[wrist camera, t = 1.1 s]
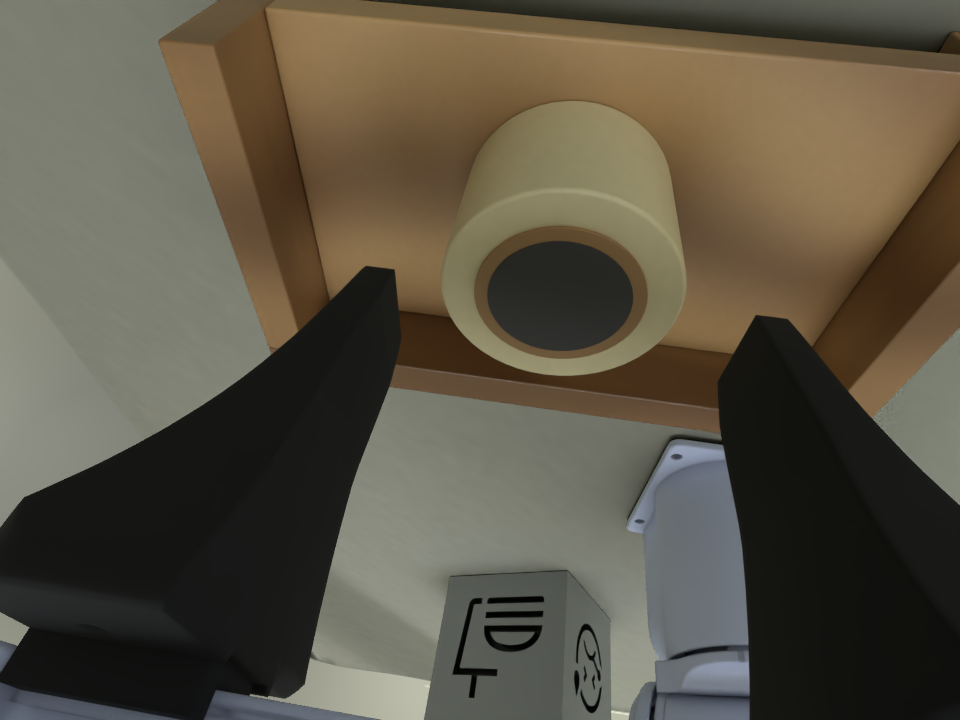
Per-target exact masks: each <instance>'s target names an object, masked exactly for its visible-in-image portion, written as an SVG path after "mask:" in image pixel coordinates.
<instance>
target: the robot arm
mask: <svg viewBox="0 0 960 720" xmlns="http://www.w3.org/2000/svg"><path fill="white" fill-rule="evenodd" d="M401 339H402V338H401V328H400V318H399V307H398V297H397V286H396V276H395V269H388V268H380V267H372V266H365V267H364V268H362V269H361V270H360V271H359V272H358V273H357V274H356V275H355V276H354V277H353V278H352V279H351V280H350V281H349V282H348V283H347V284H346V285H345V286H344V287H343V288H342V290H341V291H340V292H339V293H338V294H337V295H336V296H335V297H334V298H333V299H332V300H331V301H330V302H329V303H328V304H327V305H326V306H325V307H324V308H323V309H321V310H320V311H319V312H318V313H317V314H316V315H315V316H314V317H313V318H312V319H311V320H310V321H309V322H308V323H307V324H306V325H305V326H303V327H302V328H301V329H300V330H299V331H298V332H297V333H296V334H295V335H294V336H293V337H291V338H290V339H289V340H288V341H287V342H286V343H284V344H283V345H282V346H281V347H280V348H279V349H277V350H276V351H275V352H274V353H273V354H271V355H270V356H269V357H268V358H267V359H266V360H264V361H263V362H262V363H261V364H259V365H258V366H257V367H256V368H254V369H253V370H252V371H250V372H249V373H248V374H246V375H245V376H244V377H243V378H241V379H240V380H238V381H237V382H236V383H234V384H233V385H232V386H230V387H229V388H227V389H226V390H225V391H223V392H222V393H220V394H219V395H217V396H216V397H214V398H213V399H211V400H210V401H208V402H207V403H205V404H204V405H202V406H200V407H199V408H197V409H196V410H194V411H192V412H191V413H189V414H188V415H186V416H184V417H183V418H181V419H179V420H178V421H176V422H175V423H173V424H171V425H170V426H168V427H166V428H165V429H163V430H161V431H159V432H158V433H156V434H154V435H152V436H150V437H149V438H147V439H145V440H143V441H141V442H140V443H138V444H136V445H134V446H132V447H130V448H128V449H126V450H124V451H122V452H121V453H118V454H117V455H115V456H113V457H111V458H109V459H107V460H105V461H103V462H101V463H99V464H97V465H95V466H93V467H90V468H88V469H86V470H84V471H82V472H80V473H77V474H75V475H73V476H71V477H68V478H66V479H64V480H62V481H60V482H58V483H55V484H53V485H51V486H49V487H47V488H44V489H42V490H40V491H38V492H35V493H33V494H31V495H29V496H26V497H24V498H23V499H22V501H21V502H20V503H19V504H18V505H17V507H16V508H15V509H14V510H13V512H12V513H11V515H10V516H9V517H8V518H7V519H6V521H5V522H4V523H3V525H2V526H1V527H0V612H1V613H3V614H5V615H7V616H9V617H11V618H13V619H15V620H16V621H18V622H20V623H22V624H24V625H26V626H28V627H30V628H29V629H28V631H27V633H26V634H25V636H24V637H23V639H22V640H21V642H20V643H19V645H18V646H16V645H13V644H10V643H7V642H3V641H0V720H379V719H373V718H367V717H363V716H357V715H352V714H346V713H341V712H335V711H329V710H324V709H318V708H313V707H307V706H302V705H296V704H291V703H285V702H280V701H274V700H268V699H263V698H258V697H252V696H250V694H254V695H259V696H265V697H268V696H273V697H278V698H287V697H289V696H291V695H292V694H293V693H295V692H296V691H298V690H299V689H300V688H301V687H302V686H303V685H304V684H305V679H306V674H307V669H308V664H309V660H310V655H311V650H312V646H313V641H314V636H315V632H316V627H317V622H318V618H319V613H320V609H321V605H322V601H323V596H324V592H325V588H326V583H327V579H328V575H329V571H330V567H331V563H332V559H333V555H334V551H335V547H336V543H337V539H338V535H339V531H340V527H341V524H342V520H343V516H344V513H345V509H346V505H347V502H348V498H349V494H350V490H351V487H352V484H353V481H354V478H355V475H356V472H357V469H358V466H359V464H360V461H361V459H362V456H363V453H364V451H365V448H366V446H367V443H368V441H369V438H370V435H371V433H372V430H373V428H374V425H375V422H376V420H377V417H378V415H379V412H380V410H381V407H382V404H383V402H384V399H385V396H386V394H387V391H388V388H389V386H390V383H391V380H392V376H393V372H394V368H395V365H396V361H397V356H398V352H399V348H400V344H401ZM718 409H719V425H720V432H721V437H722V443H723V445H719V444H712V443H705V442H698V441H691V440H684V439H676V440H673V441H671V442H670V443H669V444H668V446H667V448H666V449H665V451H664V453H663V455H662V457H661V459H660V461H659V463H658V465H657V466H656V468H655V470H654V472H653V474H652V476H651V478H650V480H649V481H648V483H647V485H646V487H645V489H644V491H643V493H642V495H641V496H640V498H639V500H638V502H637V504H636V506H635V508H634V510H633V512H632V513H631V515H630V517H629V519H628V521H627V529H628V530H629V531H631V532H636V533H642V534H643V536H644V554H645V573H646V592H647V610H648V627H649V633H650V638H651V642H652V645H653V647H654V650H655V652H656V654H657V656H658V658H659V659H660V661H655V673H656V682H652V681H650V682H647V683H645V685H644V686H643V687H642V688H641V690H640V693H639V695H638V696H637V697H636V699H635V700H634V702H633V704H632V707H631V711H630V715H629V720H960V505H959V504H958V503H956V502H955V501H954V500H953V499H952V498H951V497H950V496H949V495H948V494H947V493H946V492H945V491H943V490H942V489H941V488H940V487H939V486H938V485H937V484H936V483H935V482H934V481H933V480H932V479H930V478H929V477H928V476H927V475H926V474H925V473H924V472H923V471H922V470H921V469H920V468H919V467H918V466H917V465H916V464H915V463H914V462H913V461H912V460H911V459H910V458H909V457H908V456H907V455H906V454H905V453H904V452H903V451H902V450H901V449H900V448H899V447H898V446H897V445H896V444H895V443H894V442H893V441H892V439H891V438H890V437H889V436H888V435H887V434H886V433H885V432H884V431H883V430H882V429H881V428H880V427H879V426H878V425H877V423H876V422H875V421H874V420H873V419H872V418H871V417H870V416H869V415H868V413H867V412H866V411H865V410H864V409H863V408H862V407H861V406H860V404H859V403H858V402H857V401H856V400H855V399H854V397H853V396H852V395H851V394H850V393H849V392H848V390H847V389H846V388H845V387H844V386H843V384H842V383H841V382H840V381H839V380H838V378H837V377H836V376H835V375H834V374H833V372H832V371H831V370H830V369H829V368H828V366H827V365H826V364H825V363H824V361H823V360H822V359H821V358H820V357H819V355H818V354H817V353H816V352H815V350H814V349H813V348H812V347H811V346H810V344H809V343H808V342H807V341H806V339H805V338H804V337H803V336H802V335H801V333H800V332H799V331H798V330H797V329H796V327H795V326H794V325H793V324H792V323H791V322H790V321H789V320H788V319H785V318H777V317H769V316H761V315H755V317H754V319H753V321H752V322H751V324H750V326H749V327H748V329H747V331H746V333H745V334H744V336H743V338H742V340H741V341H740V343H739V345H738V347H737V348H736V350H735V352H734V354H733V355H732V357H731V359H730V361H729V362H728V364H727V366H726V368H725V369H724V371H723V373H722V375H721V376H720V378H719V380H718Z"/></svg>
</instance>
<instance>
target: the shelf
mask: <svg viewBox="0 0 960 720" xmlns="http://www.w3.org/2000/svg"><path fill="white" fill-rule="evenodd" d="M158 42H159V46H160V49H161V51H162V54H163V57H164V60H165V62H166V65H167V68H168V71H169V73H170V76H171V79H172V82H173V84H174V87H175V90H176V93H177V95H178V98H179V101H180V104H181V106H182V109H183V112H184V115H185V117H186V120H187V123H188V126H189V128H190V131H191V134H192V137H193V139H194V142H195V145H196V148H197V150H198V153H199V156H200V159H201V161H202V164H203V167H204V170H205V172H206V175H207V178H208V181H209V183H210V186H211V189H212V192H213V194H214V197H215V200H216V203H217V205H218V208H219V211H220V214H221V217H222V219H223V222H224V225H225V228H226V230H227V233H228V236H229V239H230V241H231V244H232V247H233V250H234V252H235V255H236V258H237V261H238V263H239V266H240V269H241V272H242V274H243V277H244V280H245V283H246V285H247V288H248V291H249V294H250V296H251V299H252V302H253V305H254V307H255V310H256V313H257V316H258V318H259V321H260V324H261V327H262V329H263V332H264V335H265V338H266V340H267V343H268V346H269V349H270V351H271V354H273V353H274V352H275V351H276V350H277V349H279V348H280V347H281V346H282V345H283V344H284V343H286V342H287V341H288V340H289V339H290V338H291V337H293V336H294V335H295V334H296V333H297V332H298V331H299V330H300V329H301V328H302V327H303V326H305V325H306V324H307V323H308V322H309V321H310V320H311V319H312V318H313V317H314V316H315V315H316V314H317V313H318V312H319V311H320V310H321V309H323V308H324V307H325V306H326V305H327V304H328V303H329V302H330V301H331V300H332V299H333V298H334V297H335V296H336V295H337V294H338V293H339V292H340V291H341V290H342V288H343V287H344V286H345V285H346V284H347V283H348V282H349V281H350V280H351V279H352V278H353V277H354V276H355V275H356V274H357V273H358V272H359V271H360V270H361V269H362V268H364V267H365V266H372V267H380V268H388V269H395V276H396V286H397V297H398V307H399V318H400V328H401V338H402V339H401V344H400V348H399V352H398V356H397V361H396V365H395V368H394V372H393V376H392V380H391V383H390V386H389V387H394V388H401V389H409V390H416V391H423V392H430V393H437V394H444V395H451V396H459V397H466V398H473V399H480V400H487V401H494V402H501V403H509V404H516V405H523V406H530V407H537V408H544V409H551V410H558V411H566V412H573V413H580V414H587V415H594V416H601V417H608V418H616V419H623V420H630V421H637V422H644V423H651V424H658V425H666V426H673V427H680V428H687V429H694V430H701V431H708V432H715V433H721V432H720V425H719V409H718V380H719V378H720V376H721V375H722V373H723V371H724V369H725V368H726V366H727V364H728V362H729V361H730V359H731V357H732V355H733V354H734V352H735V350H736V348H737V347H738V345H739V343H740V341H741V340H742V338H743V336H744V334H745V333H746V331H747V329H748V327H749V326H750V324H751V322H752V321H753V319H754V317H755V315H761V316H769V317H777V318H785V319H788V320H789V321H790V322H791V323H792V324H793V325H794V326H795V327H796V329H797V330H798V331H799V332H800V333H801V335H802V336H803V337H804V338H805V339H806V341H807V342H808V343H809V344H810V346H811V347H812V348H813V349H814V350H815V352H816V353H817V354H818V355H819V357H820V358H821V359H822V360H823V361H824V363H825V364H826V365H827V366H828V368H829V369H830V370H831V371H832V372H833V374H834V375H835V376H836V377H837V378H838V380H839V381H840V382H841V383H842V384H843V386H844V387H845V388H846V389H847V390H848V392H849V393H850V394H851V395H852V396H853V397H854V399H855V400H856V401H857V402H858V403H859V404H860V406H861V407H862V408H863V409H864V410H865V411H866V412H867V413H868V415H869V416H870V417H871V418H872V417H873V416H874V415H875V414H876V413H877V412H878V411H879V410H880V409H881V408H882V407H883V406H884V405H885V404H886V403H887V402H888V401H889V400H890V399H891V397H892V396H893V395H894V394H895V393H896V392H897V391H898V390H899V389H900V388H901V387H902V386H903V385H904V384H905V383H906V382H907V381H908V380H909V379H910V378H911V377H912V376H913V375H914V374H915V373H916V372H917V371H918V370H919V369H920V368H921V367H922V366H923V364H924V363H925V362H926V361H927V360H928V359H929V358H930V357H931V356H932V355H933V354H934V353H935V352H936V351H937V350H938V349H939V348H940V347H941V346H942V345H943V344H944V343H945V342H946V341H947V340H948V339H949V338H950V337H951V336H952V335H953V334H954V332H955V331H956V330H957V329H958V328H959V327H960V33H959V32H952V33H951V34H950V35H949V37H948V38H947V40H946V42H945V43H944V45H943V46H942V48H941V50H940V51H939V53H933V52H922V51H911V50H900V49H889V48H878V47H867V46H856V45H846V44H835V43H824V42H813V41H802V40H791V39H780V38H769V37H758V36H747V35H736V34H725V33H714V32H703V31H692V30H681V29H670V28H659V27H648V26H637V25H626V24H615V23H604V22H593V21H582V20H571V19H560V18H549V17H538V16H528V15H517V14H506V13H495V12H484V11H473V10H462V9H451V8H440V7H429V6H418V5H407V4H396V3H385V2H374V1H363V0H218V1H217V2H215V3H214V4H212V5H211V6H209V7H208V8H206V9H205V10H203V11H202V12H200V13H199V14H197V15H196V16H194V17H193V18H191V19H190V20H188V21H186V22H185V23H183V24H182V25H180V26H179V27H177V28H176V29H174V30H173V31H171V32H170V33H168V34H167V35H165V36H164V37H162V38H161V39H159V41H158ZM561 101H586V102H592V103H597V104H601V105H604V106H608V107H611V108H614V109H616V110H618V111H620V112H622V113H624V114H626V115H628V116H629V117H631V118H632V119H634V120H635V121H637V122H638V123H639V124H641V125H642V126H643V127H644V128H645V129H646V130H647V131H648V132H649V133H650V134H651V135H652V137H653V138H654V139H655V140H656V142H657V143H658V145H659V146H660V148H661V150H662V152H663V153H664V156H665V158H666V161H667V163H668V166H669V171H670V176H671V181H672V187H673V194H674V200H675V206H676V212H677V218H678V224H679V231H680V237H681V243H682V249H683V255H684V261H685V267H686V277H687V288H686V295H685V300H684V303H683V306H682V309H681V311H680V313H679V315H678V317H677V319H676V321H675V323H674V325H673V326H672V327H671V329H670V330H669V331H668V333H667V334H666V335H665V336H664V337H663V338H662V339H661V340H660V341H659V342H658V343H657V344H656V345H655V346H654V347H652V348H651V349H650V350H649V351H647V352H646V353H644V354H642V355H641V356H639V357H638V358H636V359H634V360H632V361H630V362H628V363H626V364H624V365H621V366H618V367H615V368H613V369H609V370H605V371H602V372H597V373H592V374H586V375H574V376H557V375H546V374H539V373H534V372H529V371H525V370H522V369H518V368H515V367H513V366H510V365H507V364H505V363H503V362H501V361H498V360H496V359H494V358H493V357H491V356H489V355H488V354H486V353H484V352H483V351H481V350H480V349H479V348H477V347H476V346H475V345H474V344H472V343H471V342H470V341H469V340H468V339H467V338H466V337H465V336H464V335H463V334H462V332H461V331H460V330H459V329H458V327H457V326H456V325H455V323H454V321H453V320H452V318H451V317H450V314H449V312H448V310H447V308H446V305H445V302H444V298H443V294H442V288H441V268H442V264H443V260H444V256H445V252H446V249H447V246H448V243H449V239H450V236H451V233H452V230H453V226H454V223H455V220H456V217H457V213H458V210H459V207H460V204H461V200H462V197H463V194H464V191H465V187H466V184H467V181H468V178H469V174H470V171H471V168H472V166H473V163H474V161H475V158H476V156H477V154H478V153H479V151H480V149H481V148H482V146H483V145H484V143H485V142H486V141H487V140H488V138H489V137H490V136H491V135H492V134H493V133H494V132H495V131H496V130H497V129H498V128H499V127H500V126H501V125H503V124H504V123H505V122H507V121H508V120H510V119H511V118H512V117H514V116H516V115H518V114H520V113H522V112H524V111H526V110H528V109H531V108H534V107H536V106H539V105H544V104H548V103H552V102H561Z"/></svg>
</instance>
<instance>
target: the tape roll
mask: <svg viewBox="0 0 960 720" xmlns="http://www.w3.org/2000/svg"><path fill="white" fill-rule="evenodd" d="M441 288H442V294H443V298H444V302H445V305H446V308H447V310H448V312H449V314H450V317H451V318H452V320H453V321H454V323H455V325H456V326H457V327H458V329H459V330H460V331H461V332H462V334H463V335H464V336H465V337H466V338H467V339H468V340H469V341H470V342H471V343H472V344H474V345H475V346H476V347H477V348H479V349H480V350H481V351H483V352H484V353H486V354H488V355H489V356H491V357H493V358H494V359H496V360H498V361H501V362H503V363H505V364H507V365H510V366H513V367H515V368H518V369H522V370H525V371H529V372H534V373H539V374H546V375H557V376H574V375H586V374H592V373H597V372H602V371H605V370H609V369H613V368H615V367H618V366H621V365H624V364H626V363H628V362H630V361H632V360H634V359H636V358H638V357H639V356H641V355H642V354H644V353H646V352H647V351H649V350H650V349H651V348H652V347H654V346H655V345H656V344H657V343H658V342H659V341H660V340H661V339H662V338H663V337H664V336H665V335H666V334H667V333H668V331H669V330H670V329H671V327H672V326H673V325H674V323H675V321H676V319H677V317H678V315H679V313H680V311H681V309H682V306H683V303H684V300H685V295H686V288H687V277H686V267H685V261H684V255H683V249H682V243H681V237H680V231H679V224H678V218H677V212H676V206H675V200H674V194H673V187H672V181H671V176H670V171H669V166H668V163H667V161H666V158H665V156H664V153H663V152H662V150H661V148H660V146H659V145H658V143H657V142H656V140H655V139H654V138H653V137H652V135H651V134H650V133H649V132H648V131H647V130H646V129H645V128H644V127H643V126H642V125H641V124H639V123H638V122H637V121H635V120H634V119H632V118H631V117H629V116H628V115H626V114H624V113H622V112H620V111H618V110H616V109H614V108H611V107H608V106H604V105H601V104H597V103H592V102H586V101H561V102H552V103H548V104H544V105H539V106H536V107H534V108H531V109H528V110H526V111H524V112H522V113H520V114H518V115H516V116H514V117H512V118H511V119H510V120H508V121H507V122H505V123H504V124H503V125H501V126H500V127H499V128H498V129H497V130H496V131H495V132H494V133H493V134H492V135H491V136H490V137H489V138H488V140H487V141H486V142H485V143H484V145H483V146H482V148H481V149H480V151H479V153H478V154H477V156H476V158H475V161H474V163H473V166H472V168H471V171H470V174H469V178H468V181H467V184H466V187H465V191H464V194H463V197H462V200H461V204H460V207H459V210H458V213H457V217H456V220H455V223H454V226H453V230H452V233H451V236H450V239H449V243H448V246H447V249H446V252H445V256H444V260H443V264H442V268H441Z"/></svg>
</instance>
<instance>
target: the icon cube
mask: <svg viewBox="0 0 960 720" xmlns="http://www.w3.org/2000/svg"><path fill="white" fill-rule="evenodd" d="M424 720H611V660H610V619H609V618H608V617H607V615H606V614H605V613H604V612H603V611H602V610H601V609H600V607H599V606H598V605H597V604H596V603H595V602H594V601H593V599H592V598H591V597H590V596H589V595H588V594H587V592H586V591H585V590H584V589H583V588H582V587H581V586H580V584H579V583H578V582H577V581H576V580H575V579H574V578H573V576H572V575H571V574H570V573H569V572H568V571H554V572H535V573H515V574H496V575H476V576H456V577H450V580H449V585H448V591H447V596H446V602H445V607H444V613H443V618H442V624H441V629H440V635H439V640H438V646H437V651H436V657H435V662H434V668H433V673H432V679H431V684H430V690H429V696H428V701H427V706H426V712H425V717H424Z"/></svg>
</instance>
